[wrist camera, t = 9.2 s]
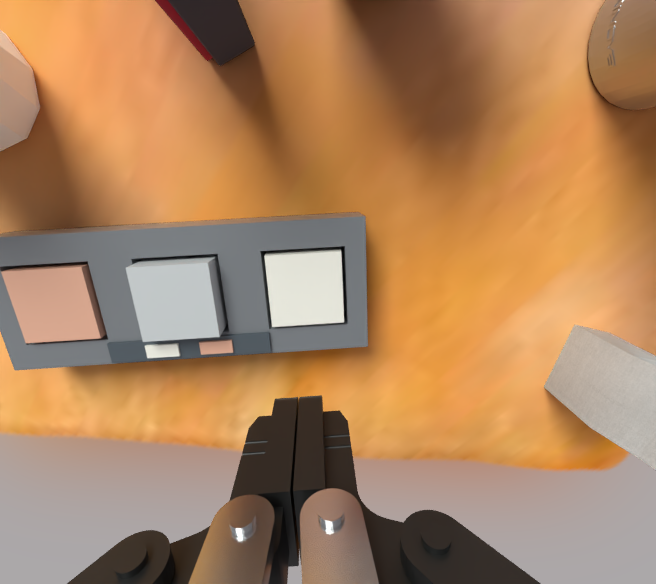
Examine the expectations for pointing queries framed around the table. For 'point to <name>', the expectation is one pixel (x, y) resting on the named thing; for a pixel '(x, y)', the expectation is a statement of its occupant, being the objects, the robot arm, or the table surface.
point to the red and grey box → (211, 26)
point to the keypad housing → (188, 240)
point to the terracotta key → (55, 302)
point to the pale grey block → (609, 388)
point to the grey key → (178, 297)
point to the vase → (15, 95)
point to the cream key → (305, 286)
